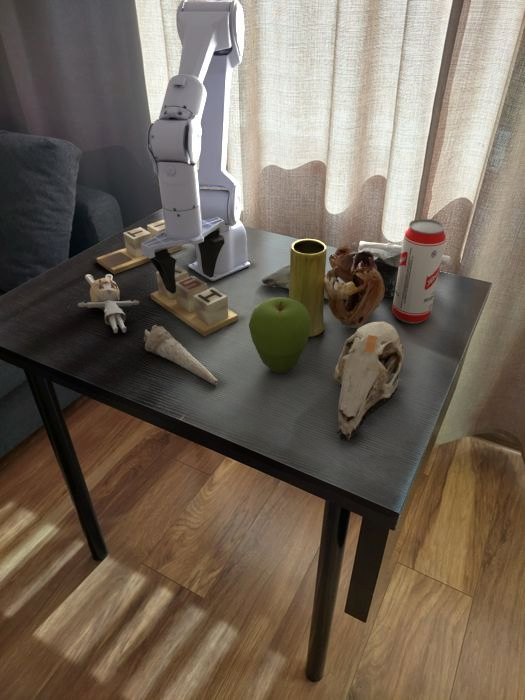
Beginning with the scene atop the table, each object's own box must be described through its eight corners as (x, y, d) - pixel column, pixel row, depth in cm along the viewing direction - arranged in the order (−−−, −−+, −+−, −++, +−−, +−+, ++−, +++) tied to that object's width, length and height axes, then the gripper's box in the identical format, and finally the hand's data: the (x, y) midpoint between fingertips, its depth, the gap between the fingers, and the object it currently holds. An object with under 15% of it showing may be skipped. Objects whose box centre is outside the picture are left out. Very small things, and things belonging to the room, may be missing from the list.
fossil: (328, 298, 86) (262, 261, 93) (322, 321, 89) (258, 283, 96) (365, 280, 93) (301, 247, 101) (358, 302, 96) (296, 268, 103)
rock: (390, 311, 93) (434, 280, 95) (389, 287, 87) (436, 254, 88) (362, 285, 97) (404, 256, 99) (359, 260, 91) (404, 229, 93)
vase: (304, 312, 89) (306, 234, 80) (332, 326, 85) (338, 246, 77) (279, 327, 85) (279, 246, 77) (307, 342, 82) (310, 260, 73)
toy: (89, 322, 80) (68, 264, 89) (85, 346, 83) (66, 288, 92) (153, 318, 85) (128, 264, 94) (148, 342, 89) (124, 287, 97)
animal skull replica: (309, 433, 66) (313, 372, 60) (352, 358, 78) (358, 301, 72) (372, 454, 63) (382, 392, 57) (406, 373, 75) (418, 315, 69)
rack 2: (151, 298, 94) (146, 273, 91) (183, 285, 97) (180, 260, 94) (204, 336, 84) (201, 309, 81) (238, 319, 88) (236, 293, 85)
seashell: (153, 318, 82) (225, 333, 73) (158, 359, 85) (229, 378, 76) (132, 326, 79) (204, 343, 70) (138, 368, 82) (209, 389, 73)
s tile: (176, 303, 90) (173, 282, 88) (195, 295, 92) (193, 274, 90) (189, 312, 88) (187, 291, 85) (208, 304, 90) (207, 283, 87)
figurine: (358, 248, 99) (456, 263, 95) (361, 229, 99) (460, 243, 96) (356, 262, 106) (448, 276, 102) (360, 243, 106) (451, 256, 103)
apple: (297, 345, 82) (299, 280, 75) (318, 378, 75) (322, 310, 68) (243, 356, 79) (240, 291, 73) (261, 391, 73) (259, 323, 66)
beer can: (432, 310, 89) (451, 221, 79) (425, 329, 84) (444, 237, 75) (396, 302, 91) (410, 214, 82) (387, 320, 87) (401, 230, 77)
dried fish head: (396, 329, 77) (372, 266, 74) (341, 348, 80) (315, 287, 77) (393, 285, 96) (373, 233, 92) (348, 301, 99) (327, 251, 95)
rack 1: (164, 238, 114) (161, 216, 110) (182, 249, 109) (180, 226, 106) (97, 262, 105) (91, 238, 102) (114, 274, 101) (109, 250, 98)
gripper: (154, 225, 73) (166, 308, 81) (235, 199, 81) (238, 276, 89) (128, 211, 77) (142, 291, 86) (207, 187, 85) (213, 262, 93)
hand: (190, 282), depth 87 cm, fingers open, 7 cm apart
